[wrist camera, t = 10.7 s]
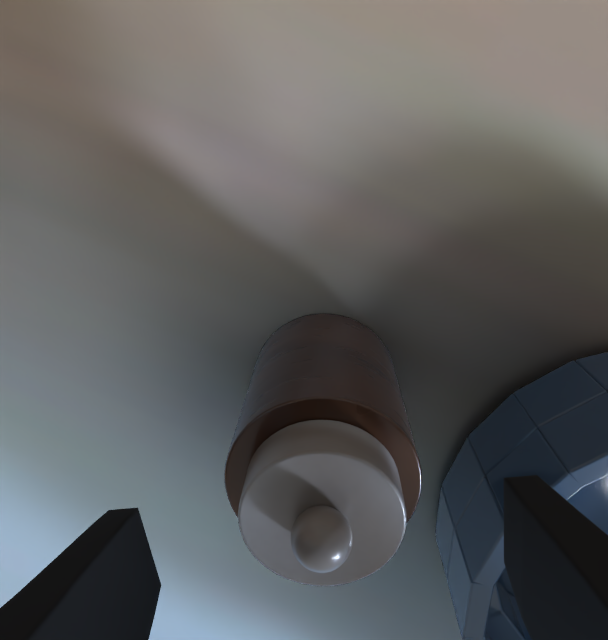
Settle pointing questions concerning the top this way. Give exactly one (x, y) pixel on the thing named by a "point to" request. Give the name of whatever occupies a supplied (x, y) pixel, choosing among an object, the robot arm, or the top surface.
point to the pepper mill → (323, 454)
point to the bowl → (513, 461)
